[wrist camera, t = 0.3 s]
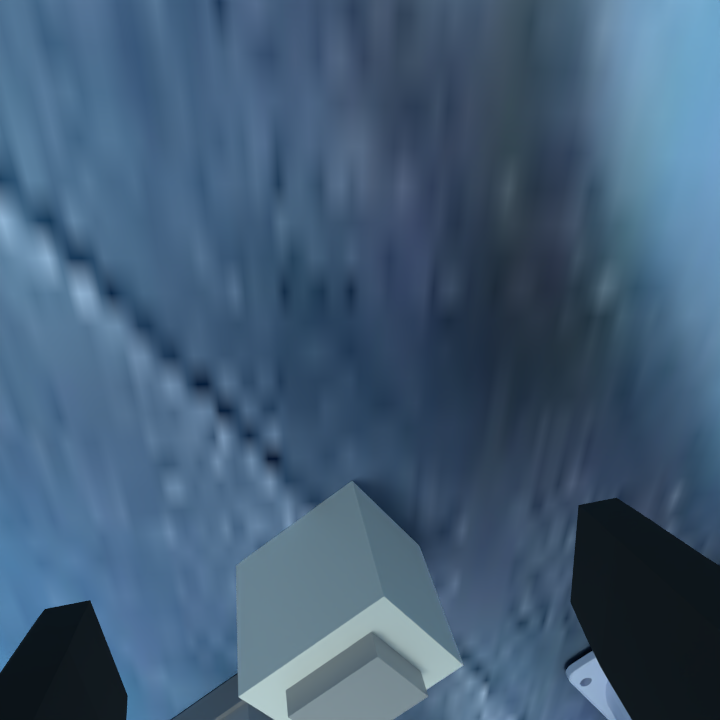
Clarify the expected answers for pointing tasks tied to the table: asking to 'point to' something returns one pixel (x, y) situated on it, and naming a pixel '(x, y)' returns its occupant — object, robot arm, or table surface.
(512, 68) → the table surface
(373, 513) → the grey plug
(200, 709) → the socket strip
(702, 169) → the table surface
